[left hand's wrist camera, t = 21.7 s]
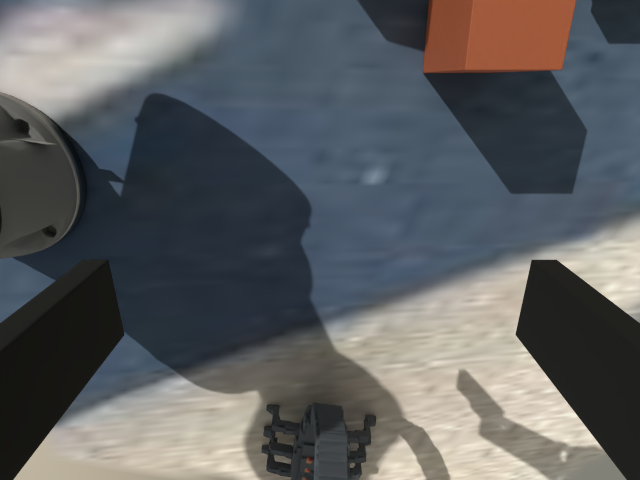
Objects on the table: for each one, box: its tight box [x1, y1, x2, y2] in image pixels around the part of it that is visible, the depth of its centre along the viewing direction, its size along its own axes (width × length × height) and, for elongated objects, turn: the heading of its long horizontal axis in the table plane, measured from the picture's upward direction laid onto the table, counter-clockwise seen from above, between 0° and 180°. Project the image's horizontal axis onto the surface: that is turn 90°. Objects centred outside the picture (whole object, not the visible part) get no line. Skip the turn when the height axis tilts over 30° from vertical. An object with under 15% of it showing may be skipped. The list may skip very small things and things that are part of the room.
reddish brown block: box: [423, 0, 576, 73], centre depth 29 cm, size 6×6×11 cm
